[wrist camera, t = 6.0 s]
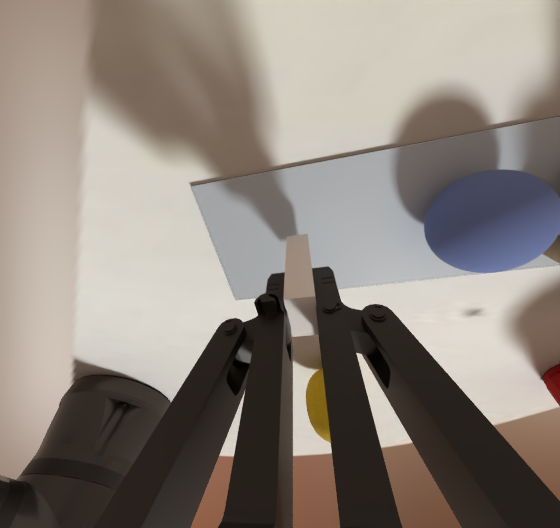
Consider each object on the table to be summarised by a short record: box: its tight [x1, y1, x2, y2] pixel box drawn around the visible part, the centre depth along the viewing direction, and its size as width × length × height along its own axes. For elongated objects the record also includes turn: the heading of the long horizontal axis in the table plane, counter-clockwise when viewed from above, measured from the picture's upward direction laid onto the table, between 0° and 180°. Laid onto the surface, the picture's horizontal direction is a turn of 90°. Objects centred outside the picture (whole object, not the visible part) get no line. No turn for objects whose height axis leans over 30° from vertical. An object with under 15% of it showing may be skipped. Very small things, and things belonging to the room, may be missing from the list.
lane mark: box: [191, 116, 560, 300], centre depth 17 cm, size 29×11×1 cm, turn 101°
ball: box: [424, 169, 560, 273], centre depth 13 cm, size 6×6×6 cm
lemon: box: [306, 369, 331, 442], centre depth 24 cm, size 6×6×8 cm
